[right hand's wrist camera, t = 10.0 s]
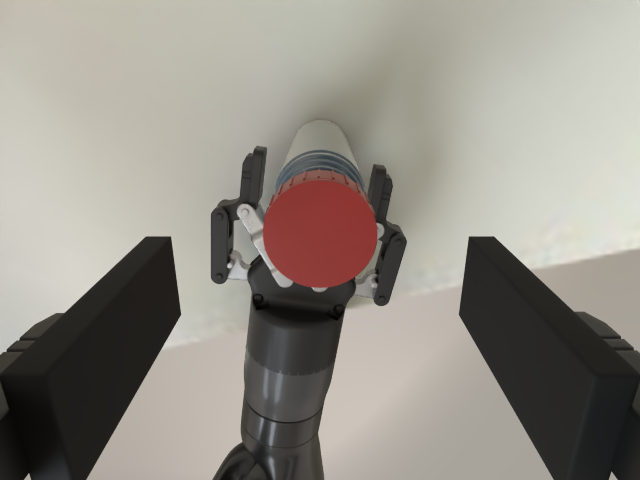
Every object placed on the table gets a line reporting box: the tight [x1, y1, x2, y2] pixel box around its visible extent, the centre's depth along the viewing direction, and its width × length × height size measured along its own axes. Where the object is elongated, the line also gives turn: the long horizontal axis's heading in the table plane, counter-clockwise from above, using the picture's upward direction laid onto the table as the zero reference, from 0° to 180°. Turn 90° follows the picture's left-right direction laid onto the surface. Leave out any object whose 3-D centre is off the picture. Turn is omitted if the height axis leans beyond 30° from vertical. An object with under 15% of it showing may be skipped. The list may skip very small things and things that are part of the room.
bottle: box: [275, 120, 365, 194], centre depth 27 cm, size 5×5×21 cm
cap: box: [262, 169, 378, 288], centre depth 18 cm, size 5×5×2 cm
